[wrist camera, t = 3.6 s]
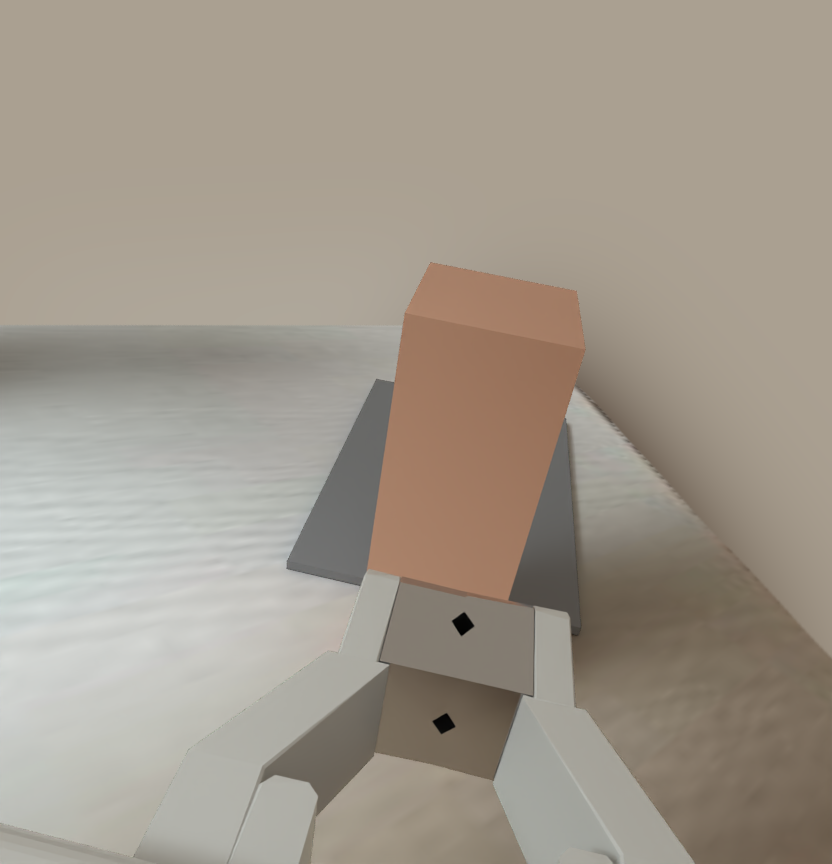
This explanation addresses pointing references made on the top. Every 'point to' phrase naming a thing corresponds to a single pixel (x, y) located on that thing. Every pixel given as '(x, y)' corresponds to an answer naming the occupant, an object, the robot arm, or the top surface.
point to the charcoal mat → (356, 505)
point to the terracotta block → (473, 426)
